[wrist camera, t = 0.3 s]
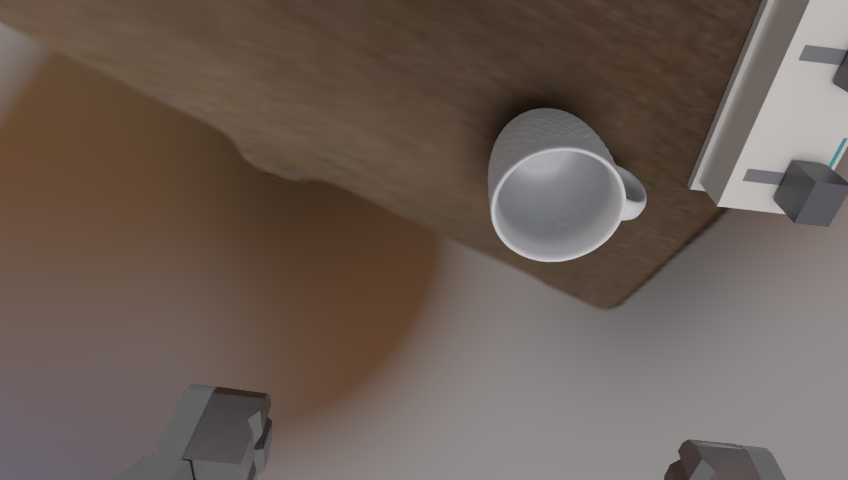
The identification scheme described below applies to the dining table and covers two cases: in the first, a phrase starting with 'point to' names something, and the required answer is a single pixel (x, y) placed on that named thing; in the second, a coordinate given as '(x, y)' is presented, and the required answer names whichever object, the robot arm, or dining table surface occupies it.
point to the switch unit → (778, 105)
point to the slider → (811, 193)
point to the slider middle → (842, 76)
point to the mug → (557, 187)
